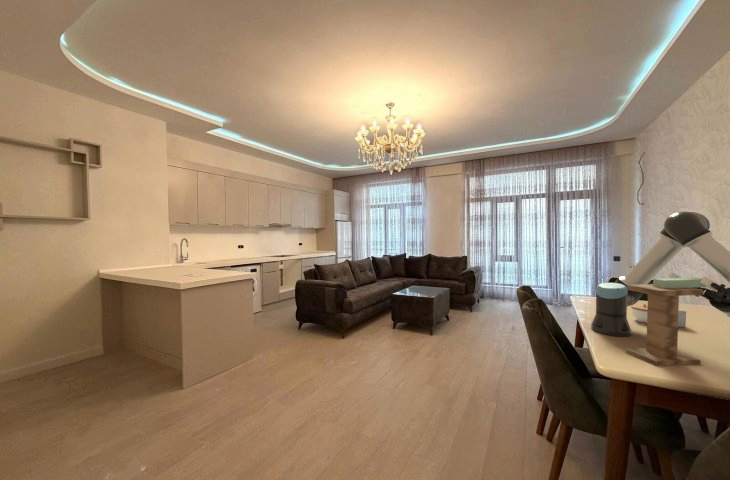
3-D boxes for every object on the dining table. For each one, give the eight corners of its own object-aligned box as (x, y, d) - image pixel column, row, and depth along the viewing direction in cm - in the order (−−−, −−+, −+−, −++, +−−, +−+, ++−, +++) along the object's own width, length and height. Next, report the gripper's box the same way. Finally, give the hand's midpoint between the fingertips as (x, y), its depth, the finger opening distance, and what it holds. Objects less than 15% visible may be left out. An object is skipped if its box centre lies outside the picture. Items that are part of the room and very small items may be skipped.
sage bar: (696, 285, 117) (696, 277, 117) (708, 287, 113) (708, 279, 113) (653, 286, 115) (653, 278, 115) (664, 288, 111) (664, 280, 111)
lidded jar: (631, 317, 167) (631, 301, 167) (657, 321, 160) (658, 304, 160) (630, 321, 160) (631, 304, 159) (658, 325, 152) (659, 308, 152)
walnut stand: (665, 350, 121) (667, 283, 120) (700, 363, 109) (703, 289, 108) (625, 352, 120) (627, 284, 119) (657, 365, 108) (659, 290, 107)
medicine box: (682, 325, 152) (683, 309, 152) (685, 328, 149) (686, 311, 148) (661, 323, 157) (662, 307, 156) (664, 325, 153) (664, 309, 152)
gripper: (765, 321, 105) (718, 291, 103) (690, 304, 128) (650, 280, 126) (775, 302, 105) (728, 273, 103) (698, 290, 128) (659, 265, 126)
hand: (686, 277), depth 114 cm, fingers open, 10 cm apart
